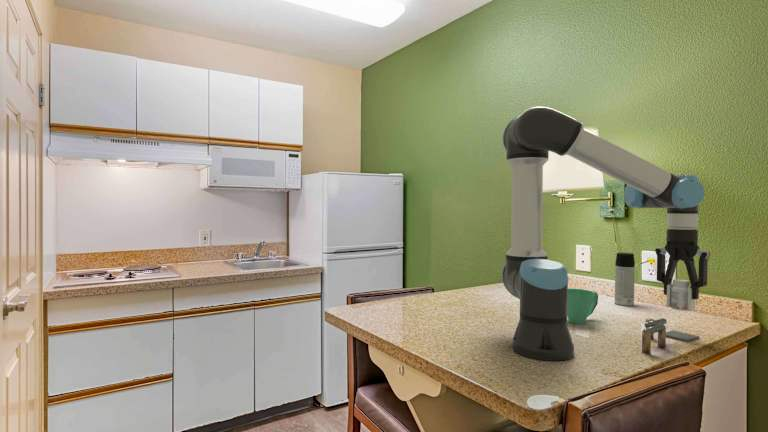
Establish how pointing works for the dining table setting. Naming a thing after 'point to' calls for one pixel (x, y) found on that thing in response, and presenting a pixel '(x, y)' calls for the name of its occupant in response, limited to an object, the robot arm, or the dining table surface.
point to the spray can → (624, 279)
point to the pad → (681, 336)
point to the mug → (580, 304)
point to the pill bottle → (679, 295)
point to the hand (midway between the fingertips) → (680, 308)
